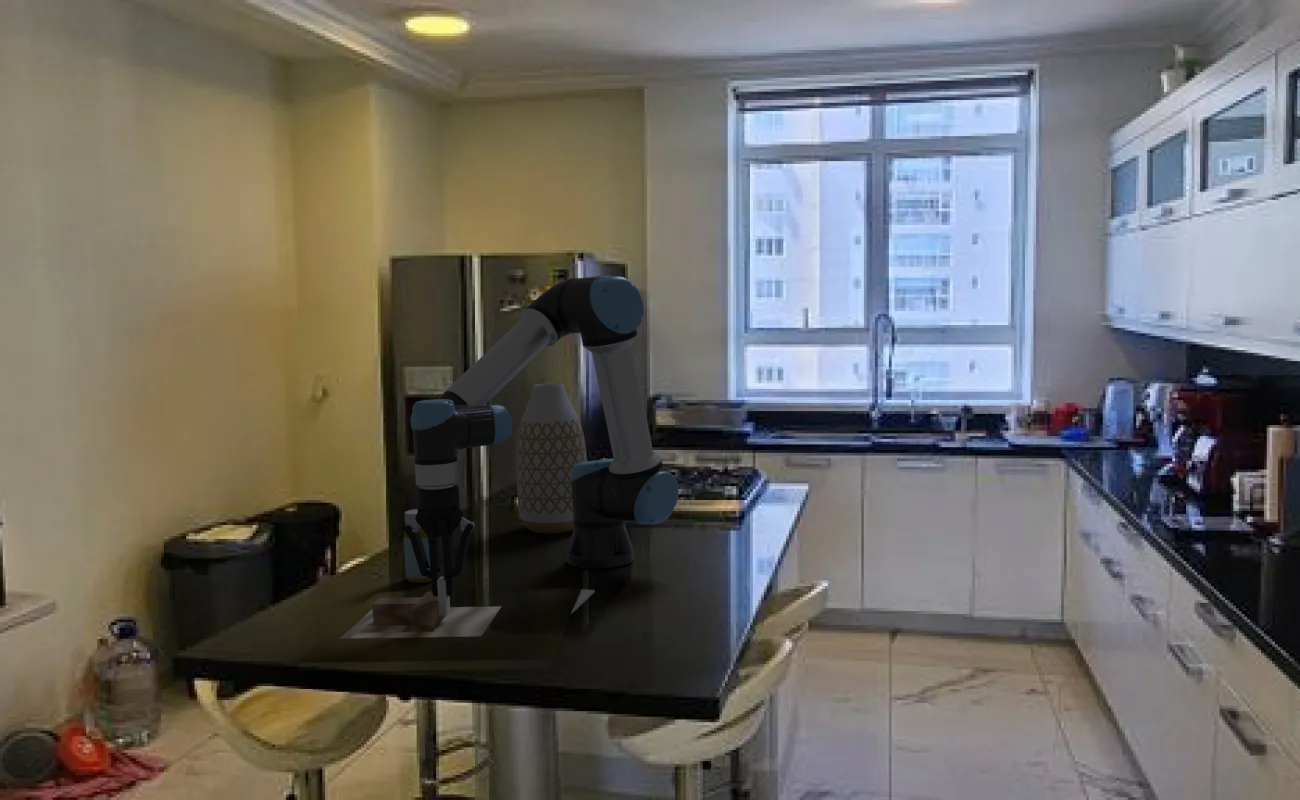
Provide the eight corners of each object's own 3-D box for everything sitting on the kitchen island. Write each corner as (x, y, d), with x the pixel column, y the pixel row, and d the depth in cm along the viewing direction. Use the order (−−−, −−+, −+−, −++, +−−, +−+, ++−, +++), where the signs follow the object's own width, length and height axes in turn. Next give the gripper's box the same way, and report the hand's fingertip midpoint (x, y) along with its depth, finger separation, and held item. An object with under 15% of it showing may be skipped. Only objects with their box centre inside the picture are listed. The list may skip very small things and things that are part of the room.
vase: (529, 521, 284) (522, 382, 281) (596, 521, 281) (590, 381, 278) (510, 537, 266) (503, 388, 262) (582, 537, 263) (576, 386, 260)
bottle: (431, 584, 222) (427, 514, 221) (400, 583, 223) (397, 514, 222) (444, 575, 229) (440, 508, 227) (414, 575, 230) (410, 508, 229)
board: (501, 612, 199) (501, 606, 199) (481, 642, 181) (481, 636, 181) (372, 614, 201) (372, 608, 201) (340, 645, 183) (339, 638, 183)
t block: (449, 611, 197) (448, 591, 196) (433, 631, 185) (431, 609, 184) (386, 612, 197) (385, 592, 197) (366, 632, 186) (365, 610, 185)
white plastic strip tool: (546, 615, 198) (545, 609, 198) (571, 594, 213) (571, 588, 213) (571, 615, 197) (571, 610, 197) (595, 594, 211) (595, 589, 211)
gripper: (477, 480, 192) (484, 606, 194) (407, 483, 193) (415, 608, 195) (468, 488, 184) (475, 618, 186) (396, 490, 185) (403, 620, 187)
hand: (444, 613), depth 191 cm, fingers closed
